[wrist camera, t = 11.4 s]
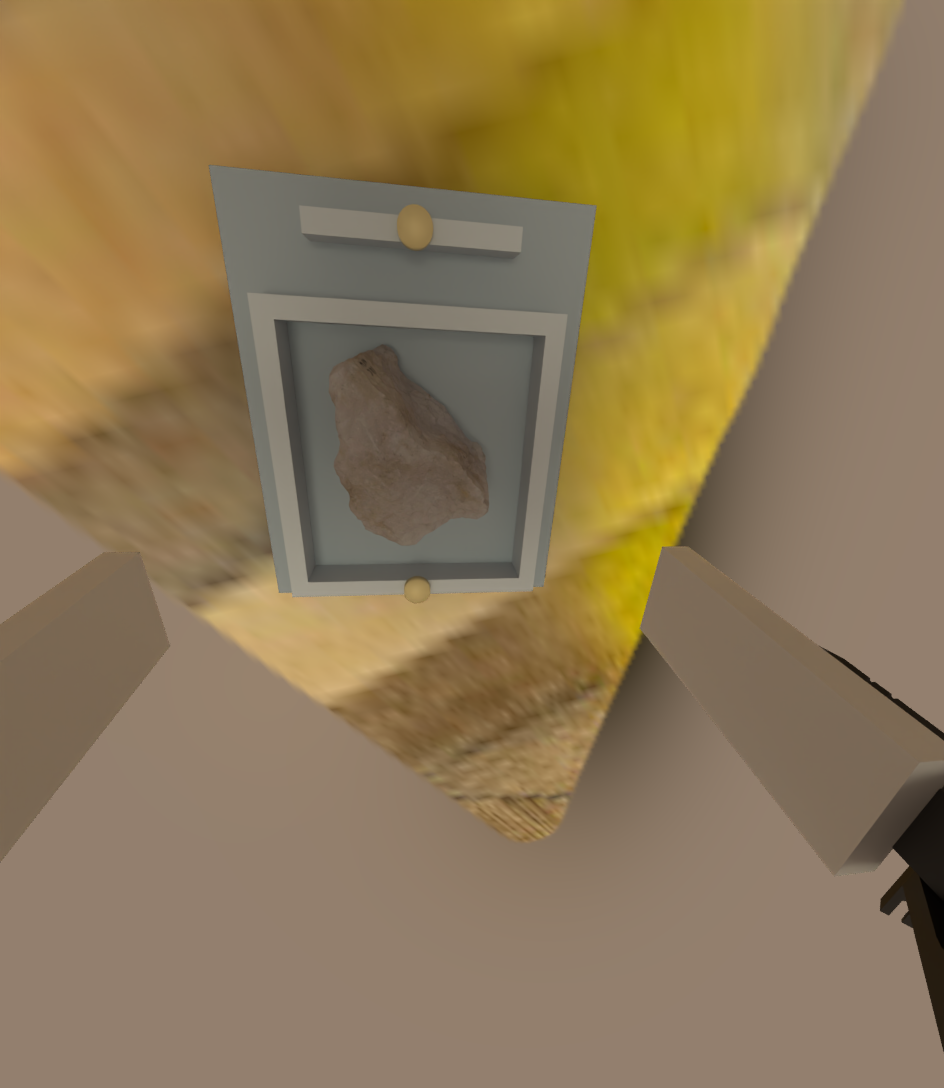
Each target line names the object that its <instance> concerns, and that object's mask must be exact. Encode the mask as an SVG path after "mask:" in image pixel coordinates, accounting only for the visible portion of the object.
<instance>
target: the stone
mask: <svg viewBox="0 0 944 1088" xmlns="http://www.w3.org/2000/svg"><path fill="white" fill-rule="evenodd" d="M329 394H330V396H331V400H332V402H333V403H334V405H335V423H336V429H337V432H338V438H339V441H340V446H339V452H338V454H337V456H336V458H335V460H334V469H335V471H336V474H337V475H338V476H339V478H340V482H341V484H342V485H343V486H344V488H345V489H346V490H347V491H348V493H349V496H350V501H349V508H350V510H351V511H352V513H353V514H354V515H355V516H356V517H357V519H358V520H361V521H362V523H363V525H364V527H365V529H366V530H368V531H370V532H372V533H374V534H376V535H380V536H383V537H384V538H386V539H388V540H390V541H393V542H396V543H397V544H399V545H401V546H410V545H415V544H417V543H418V542H419V541H420V540H421V539H422V537H423V536H425V535H426V534H428V533H431V532H433V531H434V530H436V529H437V528H438V527H440V526H441V525H443V524H444V523H446V522H448V521H449V520H450V519H456V518H461V517H463V518H470V519H479V518H480V517H482V516H484V515H485V514H486V513H487V512H488V510H489V493H488V482H487V479H486V478H487V474H486V465H485V460H486V456H485V454H484V453H483V451H482V447H481V446H480V445H479V444H478V443H477V442H472V441H470V440H469V439H468V438H467V437H466V436H465V435H464V433H463V432H462V430H461V429H460V428H459V427H458V425H457V424H456V423H455V421H454V419H453V418H452V416H451V415H450V414H449V412H448V411H447V409H446V408H445V406H443V405H442V404H441V403H439V402H438V401H437V400H435V399H433V398H432V397H431V396H430V394H428V393H427V392H426V391H424V390H423V389H422V388H421V387H420V386H419V385H417V384H416V383H414V382H412V381H411V380H409V379H407V377H406V376H405V375H404V374H403V373H402V372H401V370H400V368H399V366H398V358H397V355H396V354H395V353H394V351H393V350H392V348H390V347H388V346H386V345H383V344H381V345H380V346H378V347H376V348H375V349H373V350H368V351H366V352H363V353H359V354H358V355H357V356H354V357H353V358H349V359H347V360H345V361H344V362H341V363H339V364H337V365H336V366H334V367H333V369H332V371H331V373H330V375H329Z"/></svg>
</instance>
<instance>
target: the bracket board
mask: <svg viewBox="0 0 944 1088" xmlns="http://www.w3.org/2000/svg"><path fill="white" fill-rule="evenodd" d="M209 169H210V176H211V182H212V188H213V194H214V200H215V206H216V212H217V218H218V224H219V230H220V236H221V242H222V249H223V255H224V261H225V267H226V273H227V279H228V285H229V291H230V297H231V303H232V309H233V315H234V321H235V328H236V334H237V340H238V346H239V352H240V358H241V364H242V370H243V376H244V382H245V388H246V394H247V400H248V407H249V413H250V419H251V425H252V431H253V437H254V443H255V449H256V455H257V461H258V467H259V473H260V480H261V486H262V492H263V498H264V504H265V510H266V516H267V522H268V528H269V534H270V540H271V546H272V552H273V559H274V565H275V571H276V577H277V583H278V589H279V593H292V596H293V597H317V596H357V595H397V594H404V595H405V597H406V599H407V600H408V601H410V602H412V603H421V602H424V601H426V600H427V599H428V597H429V596H430V594H437V593H477V592H517V591H533V587H543V586H544V579H545V572H546V565H547V557H548V550H549V543H550V536H551V529H552V522H553V514H554V507H555V500H556V493H557V486H558V478H559V471H560V464H561V457H562V450H563V442H564V435H565V428H566V421H567V414H568V407H569V399H570V392H571V385H572V378H573V371H574V363H575V356H576V349H577V342H578V335H579V327H580V320H581V313H582V306H583V299H584V292H585V284H586V277H587V270H588V263H589V256H590V248H591V241H592V234H593V227H594V220H595V212H596V206H594V205H585V204H576V203H566V202H557V201H547V200H538V199H528V198H519V197H509V196H500V195H490V194H481V193H471V192H462V191H452V190H443V189H433V188H424V187H415V186H405V185H396V184H386V183H377V182H367V181H358V180H348V179H339V178H329V177H320V176H310V175H301V174H291V173H282V172H272V171H263V170H254V169H244V168H235V167H225V166H216V165H209ZM381 344H383V345H386V346H388V347H390V348H392V350H393V351H394V353H395V354H396V355H397V358H398V366H399V368H400V370H401V372H402V373H403V374H404V375H405V376H406V377H407V379H409V380H411V381H412V382H414V383H416V384H417V385H419V386H420V387H421V388H422V389H423V390H424V391H426V392H427V393H428V394H430V396H431V397H432V398H433V399H435V400H437V401H438V402H439V403H441V404H442V405H443V406H445V408H446V409H447V411H448V412H449V414H450V415H451V416H452V418H453V419H454V421H455V423H456V424H457V425H458V427H459V428H460V429H461V430H462V432H463V433H464V435H465V436H466V437H467V438H468V439H469V440H470V441H472V442H477V443H478V444H479V445H480V446H481V447H482V451H483V453H484V454H485V456H486V460H485V465H486V474H487V478H486V479H487V482H488V493H489V510H488V512H487V513H486V514H485V515H484V516H482V517H480V518H479V519H470V518H463V517H461V518H456V519H450V520H449V521H448V522H446V523H444V524H443V525H441V526H440V527H438V528H437V529H436V530H434V531H433V532H431V533H428V534H426V535H425V536H423V537H422V539H421V540H420V541H419V542H418V543H417V544H415V545H410V546H401V545H399V544H397V543H396V542H393V541H390V540H388V539H386V538H384V537H383V536H380V535H376V534H374V533H372V532H370V531H368V530H366V529H365V527H364V525H363V523H362V521H361V520H358V519H357V517H356V516H355V515H354V514H353V513H352V511H351V510H350V508H349V501H350V496H349V493H348V491H347V490H346V489H345V488H344V486H343V485H342V484H341V482H340V478H339V476H338V475H337V474H336V471H335V469H334V460H335V458H336V456H337V454H338V452H339V446H340V441H339V438H338V432H337V429H336V423H335V405H334V403H333V402H332V400H331V396H330V394H329V375H330V373H331V371H332V369H333V367H334V366H336V365H337V364H339V363H341V362H344V361H345V360H347V359H349V358H353V357H354V356H357V355H358V354H359V353H363V352H366V351H368V350H373V349H375V348H376V347H378V346H380V345H381Z"/></svg>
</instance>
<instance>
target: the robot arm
mask: <svg viewBox="0 0 944 1088" xmlns="http://www.w3.org/2000/svg"><path fill="white" fill-rule="evenodd" d="M640 629H641V630H642V631H643V633H644V634H645V635H646V637H647V638H648V639H649V640H650V642H651V643H652V644H653V646H654V647H655V648H656V649H657V650H658V652H659V653H660V654H661V656H662V657H663V658H664V660H665V661H666V662H667V663H668V665H669V666H670V667H671V669H672V670H673V671H674V672H675V673H676V675H677V676H678V677H679V679H680V680H681V681H682V683H683V684H684V685H685V686H686V688H687V689H688V690H689V692H690V693H691V694H692V695H693V696H694V698H695V699H696V700H697V702H698V703H699V704H700V705H701V707H702V708H703V709H704V711H705V712H706V713H707V714H708V716H709V717H710V718H711V719H712V721H713V722H714V723H715V725H716V726H717V727H718V728H719V730H720V731H721V732H722V733H723V735H724V736H725V737H726V739H727V740H728V741H729V743H730V744H731V745H732V746H733V748H734V749H735V750H736V752H737V753H738V754H739V755H740V757H741V758H742V759H743V760H744V762H745V763H746V764H747V765H748V767H749V768H750V769H751V770H752V772H753V773H754V775H755V776H756V777H757V778H758V779H759V781H760V782H761V783H762V785H763V786H764V787H765V789H766V790H767V791H768V792H769V794H770V795H771V796H772V798H773V799H774V800H775V801H776V802H777V804H778V805H779V806H780V808H781V809H782V810H783V812H784V813H785V814H786V815H787V816H788V818H789V819H790V821H791V822H792V823H793V824H794V826H795V827H796V828H797V829H798V831H799V832H800V833H801V835H802V836H803V837H804V838H805V840H806V841H807V842H808V843H809V845H810V846H811V847H812V849H813V850H814V851H815V852H816V854H817V855H818V856H819V858H820V859H821V860H822V861H823V863H824V864H825V865H826V866H827V868H828V869H829V870H830V872H831V873H832V874H833V875H834V876H841V875H849V874H856V873H864V872H871V871H875V870H876V869H877V867H878V866H879V865H880V864H881V863H882V861H883V860H884V859H885V858H886V856H887V855H888V854H889V853H890V851H891V850H892V849H894V850H895V851H896V852H897V853H898V854H899V855H900V856H901V857H902V858H903V859H904V860H905V861H906V862H907V864H908V865H909V867H908V868H907V869H906V871H905V872H904V873H903V874H902V875H901V876H900V877H899V879H898V880H897V881H896V882H895V883H894V884H893V886H892V887H891V888H890V889H889V890H888V891H887V892H886V894H885V895H884V896H883V897H882V898H881V904H880V911H881V912H883V913H885V914H887V915H890V913H891V912H892V911H893V910H894V909H895V908H896V907H897V906H898V905H899V904H900V903H901V901H902V900H903V901H906V902H907V906H908V910H909V911H908V912H907V913H906V914H905V915H904V917H903V918H902V923H904V924H906V925H908V926H910V927H912V928H913V929H914V934H915V938H916V942H917V946H918V950H919V954H920V958H921V962H922V966H923V970H924V974H925V978H926V982H927V986H928V990H929V995H930V999H931V1003H932V1006H933V1011H934V1015H935V1019H936V1023H937V1027H938V1031H939V1035H940V1039H941V1043H942V1047H943V1051H944V733H943V732H942V731H940V730H939V729H938V728H936V727H935V726H934V725H932V724H931V723H930V722H928V721H927V720H925V719H924V718H923V717H921V716H920V715H919V714H917V713H916V712H915V711H913V710H912V709H911V708H909V707H908V706H906V705H905V704H904V703H903V702H901V701H900V700H899V699H893V698H892V696H891V693H889V692H888V691H887V690H885V689H884V688H883V687H881V686H880V685H878V684H877V683H876V682H871V681H870V678H869V677H868V676H866V675H865V674H864V673H862V672H861V671H860V670H858V669H857V668H856V667H854V666H853V665H852V664H850V663H849V662H847V661H846V660H845V659H843V658H841V657H839V656H837V655H836V654H834V653H832V652H830V651H827V650H826V649H824V648H822V647H820V646H818V645H817V644H816V643H814V642H813V641H812V640H810V639H809V638H808V637H806V636H805V635H804V634H802V633H801V632H800V631H798V630H797V629H796V628H795V627H793V626H792V625H791V624H789V623H788V622H787V621H785V620H784V619H783V618H781V617H780V616H779V615H777V614H776V613H775V612H773V611H772V610H771V609H769V608H768V607H767V606H765V605H764V604H763V603H762V602H760V601H759V600H757V599H756V598H755V597H754V596H752V595H751V594H750V593H748V592H747V591H746V590H744V589H743V588H742V587H740V586H739V585H738V584H737V583H735V582H734V581H733V580H731V579H730V578H729V577H727V576H726V575H725V574H723V573H722V572H721V571H719V570H718V569H717V568H715V567H714V566H713V565H712V564H710V563H709V562H708V561H706V560H705V559H704V558H702V557H701V556H700V555H698V554H697V553H696V552H694V551H693V550H692V549H690V548H689V547H662V550H661V554H660V557H659V561H658V565H657V568H656V572H655V575H654V579H653V583H652V586H651V590H650V594H649V597H648V601H647V605H646V608H645V612H644V616H643V619H642V623H641V627H640ZM169 647H170V644H169V641H168V638H167V635H166V632H165V628H164V625H163V622H162V619H161V616H160V613H159V610H158V607H157V604H156V601H155V597H154V595H153V591H152V588H151V585H150V582H149V579H148V576H147V573H146V569H145V566H144V563H143V560H142V557H141V554H140V552H104V553H102V554H101V555H99V556H98V557H96V558H95V559H94V560H92V561H91V562H89V563H88V564H86V565H85V566H83V567H82V568H81V569H79V570H78V571H76V572H75V573H73V574H72V575H70V576H69V577H68V578H66V579H65V580H64V581H62V582H60V583H59V584H58V585H56V586H55V587H53V588H52V589H50V590H49V591H47V592H46V593H45V594H43V595H42V596H40V597H39V598H37V599H36V600H35V601H33V602H32V603H30V604H29V605H27V606H26V607H24V608H23V609H22V610H20V611H19V612H17V613H16V614H14V615H13V616H12V617H10V618H9V619H7V620H6V621H4V622H3V623H2V624H0V862H1V861H2V860H3V858H4V857H5V856H6V855H7V853H8V852H9V851H10V849H11V848H12V847H13V846H14V844H15V843H16V842H17V841H18V839H19V838H20V837H21V835H22V834H23V833H24V832H25V830H26V829H27V827H29V825H30V824H31V823H32V821H33V820H34V819H35V818H36V816H37V815H38V814H39V813H40V811H41V810H42V809H43V807H44V806H45V805H46V804H47V802H48V801H49V800H50V799H51V797H52V796H53V795H54V793H55V792H56V791H57V790H58V788H59V787H60V786H61V785H62V783H63V782H64V781H65V779H66V778H67V777H68V776H69V774H70V773H71V772H72V771H73V769H74V768H75V767H76V765H77V764H78V763H79V762H80V760H81V759H82V758H83V756H84V755H85V754H86V752H87V751H88V750H89V749H90V747H91V746H92V745H93V744H94V742H95V741H96V740H97V739H98V737H99V736H100V735H101V734H102V732H103V731H104V730H105V728H106V727H107V726H108V725H109V723H110V722H111V721H112V720H113V718H114V717H115V715H116V714H117V713H118V712H119V711H120V709H121V708H122V707H123V706H124V704H125V703H126V702H127V700H128V699H129V698H130V697H131V695H132V694H133V693H134V691H135V690H136V689H137V688H138V686H139V685H140V684H141V683H142V681H143V680H144V679H145V678H146V676H147V675H148V674H149V672H150V671H151V670H152V669H153V667H154V666H155V665H156V664H157V662H158V661H159V660H160V658H161V657H162V656H163V655H164V653H165V652H166V651H167V649H168V648H169Z"/></svg>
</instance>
